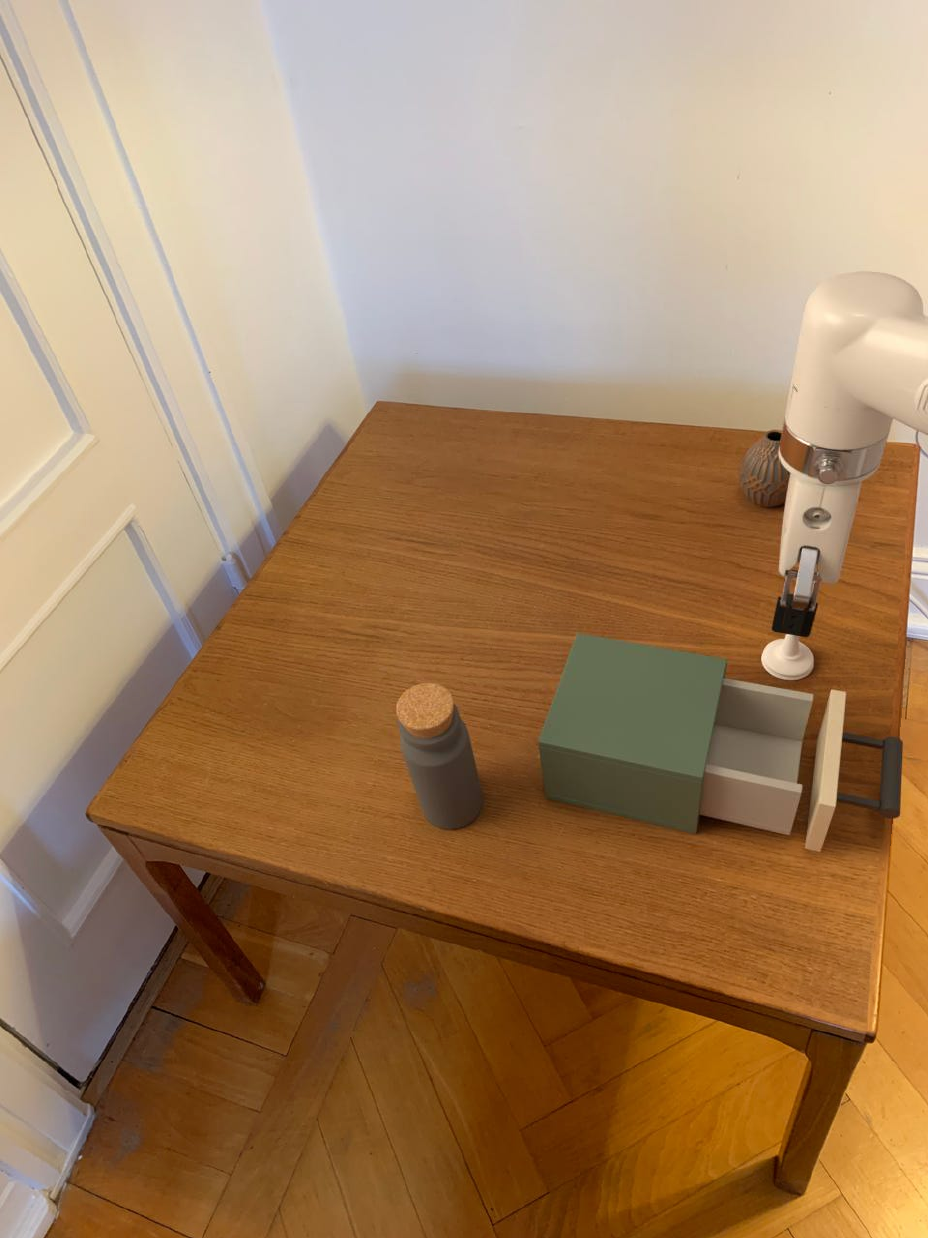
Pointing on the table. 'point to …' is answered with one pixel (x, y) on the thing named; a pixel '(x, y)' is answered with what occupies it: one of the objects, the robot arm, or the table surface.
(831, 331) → the robot arm
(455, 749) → the bottle
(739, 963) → the table surface
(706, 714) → the cabinet
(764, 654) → the chess piece
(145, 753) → the table surface
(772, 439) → the vase
